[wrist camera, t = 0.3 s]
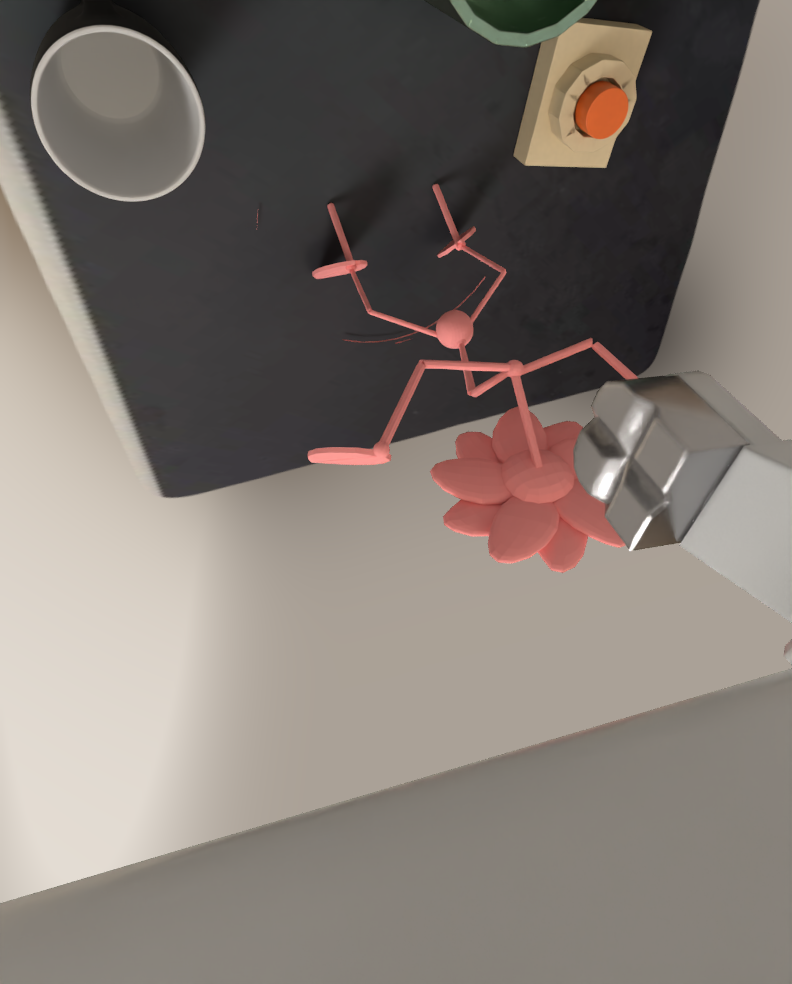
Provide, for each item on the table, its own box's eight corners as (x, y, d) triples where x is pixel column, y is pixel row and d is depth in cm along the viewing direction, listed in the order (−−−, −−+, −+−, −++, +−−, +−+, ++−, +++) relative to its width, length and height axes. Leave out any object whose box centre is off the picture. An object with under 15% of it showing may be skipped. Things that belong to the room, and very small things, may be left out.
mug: (193, 137, 49) (216, 196, 42) (56, 146, 46) (58, 209, 40) (161, -83, 40) (183, -52, 33) (-9, -87, 38) (-20, -55, 31)
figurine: (222, 211, 53) (355, 550, 30) (526, 157, 58) (832, 411, 35) (257, 372, 64) (373, 706, 41) (509, 314, 69) (733, 583, 47)
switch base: (548, 13, 51) (575, 27, 48) (636, 23, 53) (666, 37, 51) (512, 155, 58) (534, 174, 55) (592, 158, 60) (617, 176, 58)
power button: (583, 78, 51) (595, 86, 50) (623, 82, 52) (636, 89, 51) (568, 130, 54) (579, 138, 53) (606, 132, 55) (618, 140, 54)
